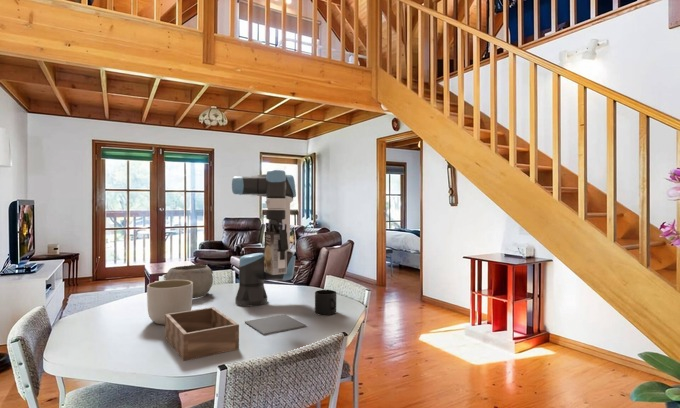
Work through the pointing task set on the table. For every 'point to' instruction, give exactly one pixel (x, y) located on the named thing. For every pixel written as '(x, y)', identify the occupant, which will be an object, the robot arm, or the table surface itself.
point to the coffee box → (272, 254)
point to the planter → (168, 298)
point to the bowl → (193, 277)
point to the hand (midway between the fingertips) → (275, 266)
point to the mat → (274, 324)
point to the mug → (325, 302)
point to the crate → (201, 332)
